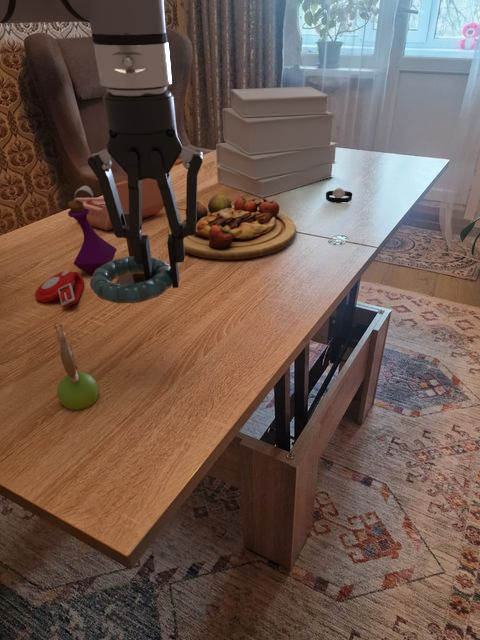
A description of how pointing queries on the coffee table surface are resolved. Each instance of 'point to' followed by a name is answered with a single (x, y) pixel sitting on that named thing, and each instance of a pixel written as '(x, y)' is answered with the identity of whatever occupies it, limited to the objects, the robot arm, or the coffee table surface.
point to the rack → (130, 277)
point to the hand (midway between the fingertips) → (163, 283)
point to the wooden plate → (238, 229)
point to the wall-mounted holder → (124, 203)
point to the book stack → (275, 140)
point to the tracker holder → (61, 288)
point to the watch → (338, 195)
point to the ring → (130, 291)
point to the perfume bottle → (89, 239)
